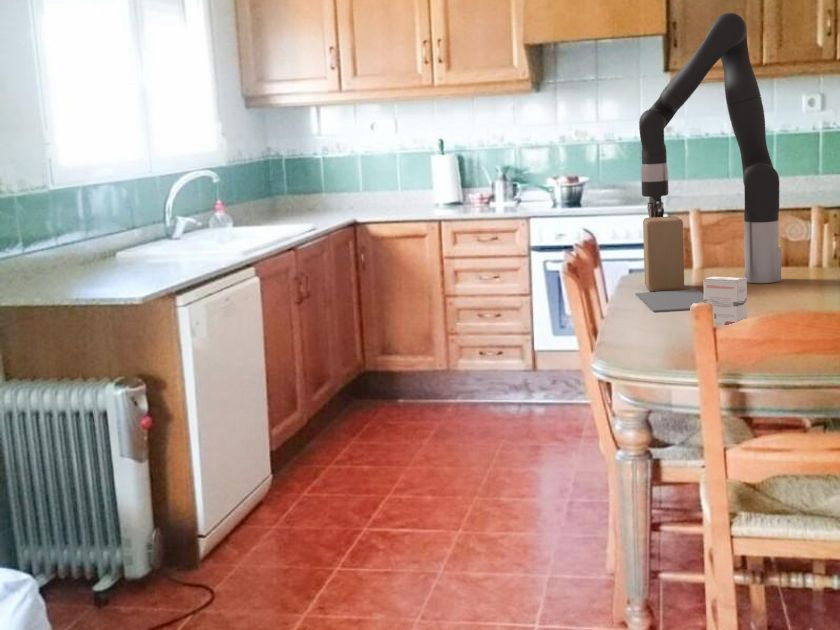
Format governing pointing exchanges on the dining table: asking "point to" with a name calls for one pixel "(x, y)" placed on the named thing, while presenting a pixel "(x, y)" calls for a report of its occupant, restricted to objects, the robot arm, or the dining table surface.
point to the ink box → (726, 298)
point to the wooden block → (663, 253)
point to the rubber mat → (671, 299)
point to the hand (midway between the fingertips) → (656, 239)
